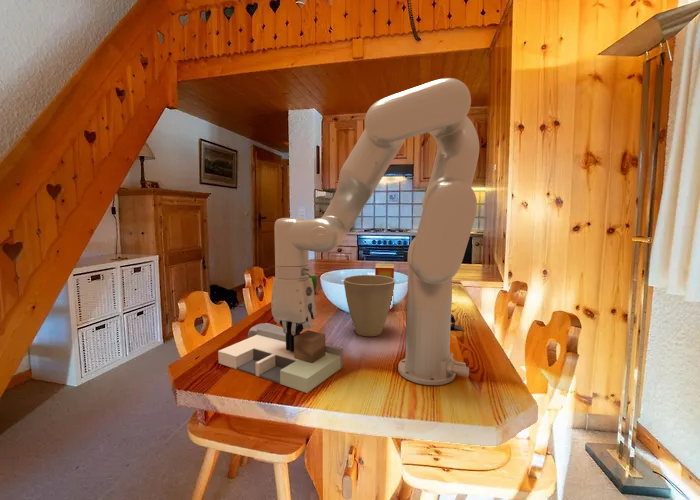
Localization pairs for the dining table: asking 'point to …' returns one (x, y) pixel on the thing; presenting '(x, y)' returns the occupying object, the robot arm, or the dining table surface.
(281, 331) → the stone block
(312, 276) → the bell pepper
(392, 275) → the baking soda box
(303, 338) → the walnut cube
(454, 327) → the build plate
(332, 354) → the box
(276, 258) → the robot arm
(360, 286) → the plant pot
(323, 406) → the dining table surface
